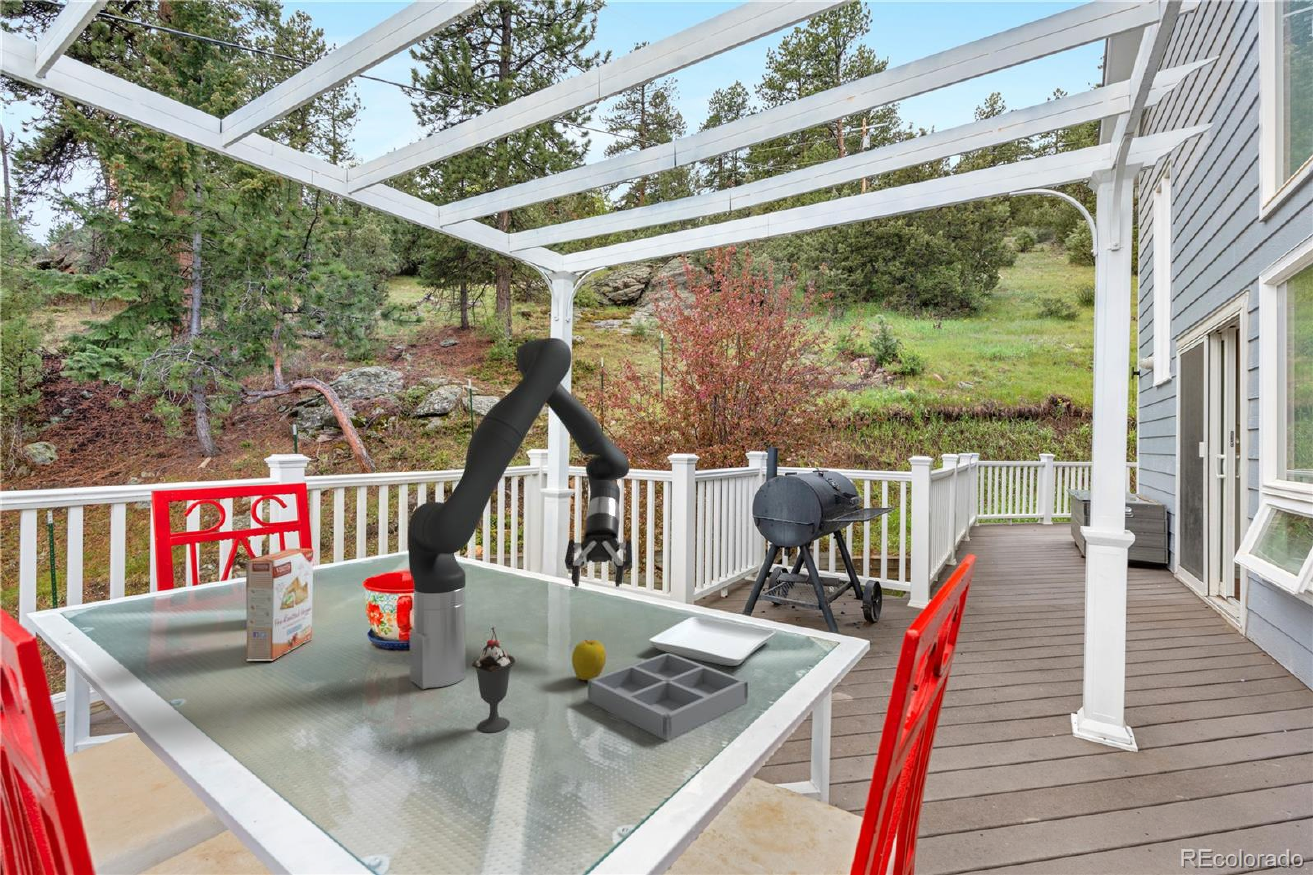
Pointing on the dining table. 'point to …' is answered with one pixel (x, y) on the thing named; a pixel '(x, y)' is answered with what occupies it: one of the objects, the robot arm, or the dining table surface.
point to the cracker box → (279, 602)
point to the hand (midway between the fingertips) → (596, 584)
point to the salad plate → (712, 640)
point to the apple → (588, 659)
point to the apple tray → (667, 694)
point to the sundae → (493, 682)
